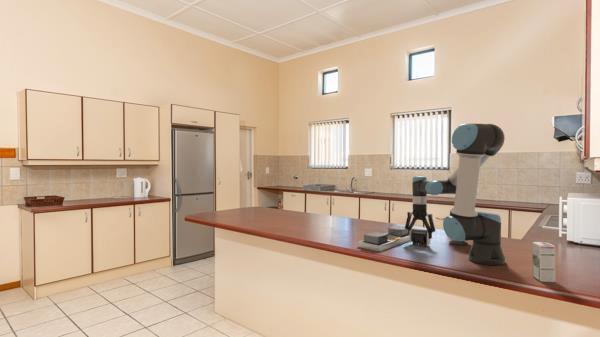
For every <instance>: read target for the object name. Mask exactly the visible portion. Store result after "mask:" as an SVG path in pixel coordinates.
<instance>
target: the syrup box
mask: <svg viewBox="0 0 600 337" xmlns="http://www.w3.org/2000/svg"><path fill="white" fill-rule="evenodd" d="M532 277H533V278H534V279H536V280H537V281H539V282H543V283H544V282H545V283H556V245H554V244H552V243H549V242H546V241H545V242H544V241H533V242H532Z"/></svg>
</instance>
